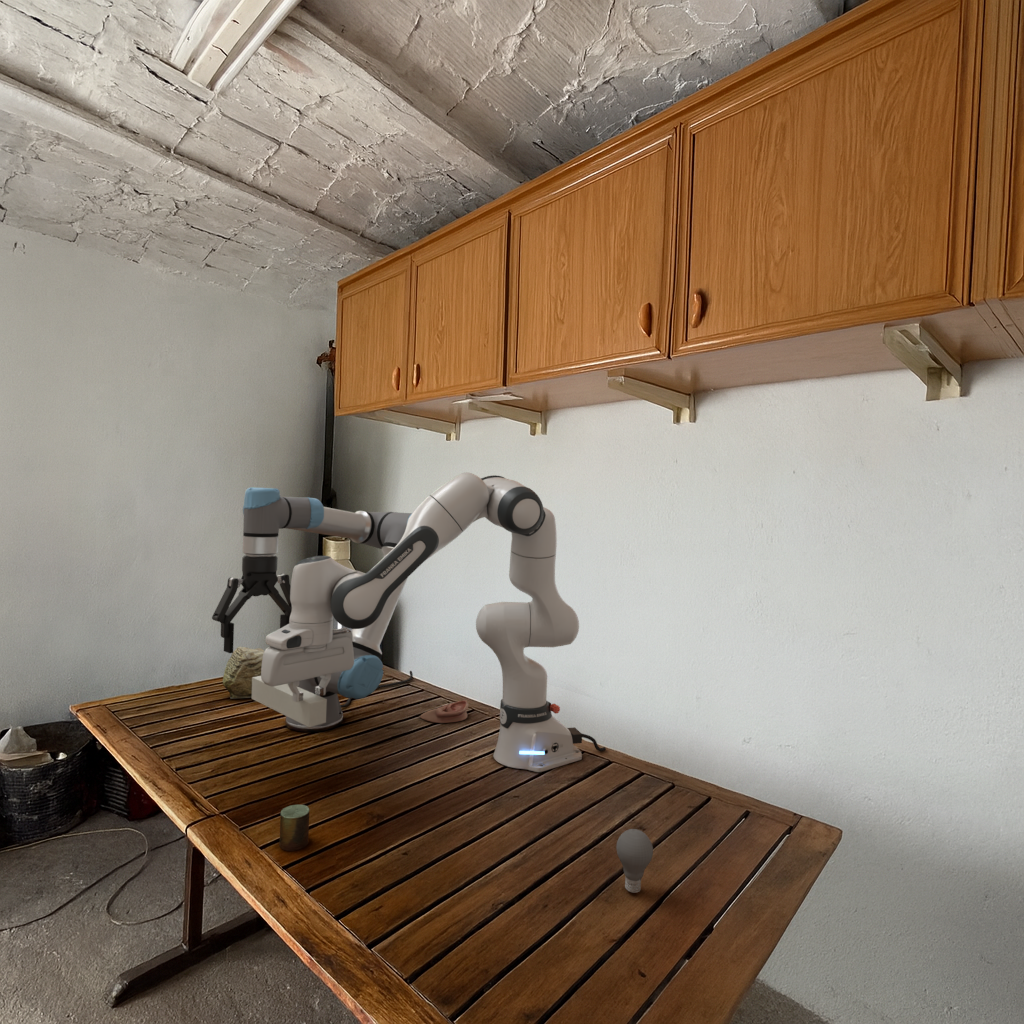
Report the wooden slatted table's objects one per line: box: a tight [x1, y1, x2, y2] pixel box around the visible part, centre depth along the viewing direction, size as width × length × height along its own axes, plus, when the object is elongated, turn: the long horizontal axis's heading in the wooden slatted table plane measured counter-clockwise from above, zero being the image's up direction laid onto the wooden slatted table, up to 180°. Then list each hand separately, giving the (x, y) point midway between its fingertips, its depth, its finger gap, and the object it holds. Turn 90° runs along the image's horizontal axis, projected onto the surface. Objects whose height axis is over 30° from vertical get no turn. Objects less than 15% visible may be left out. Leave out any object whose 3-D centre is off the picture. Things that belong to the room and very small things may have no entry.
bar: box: [251, 676, 327, 727], centre depth 139 cm, size 4×24×5 cm, turn 50°
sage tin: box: [278, 804, 310, 852], centre depth 116 cm, size 5×5×6 cm
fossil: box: [222, 646, 265, 699], centre depth 198 cm, size 9×18×15 cm, turn 132°
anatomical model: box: [419, 699, 469, 724], centre depth 185 cm, size 13×4×12 cm
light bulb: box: [615, 828, 654, 894], centre depth 106 cm, size 6×6×10 cm
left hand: (257, 647), depth 145 cm, fingers open, 13 cm apart
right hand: (309, 698), depth 134 cm, fingers closed on bar, 4 cm apart
